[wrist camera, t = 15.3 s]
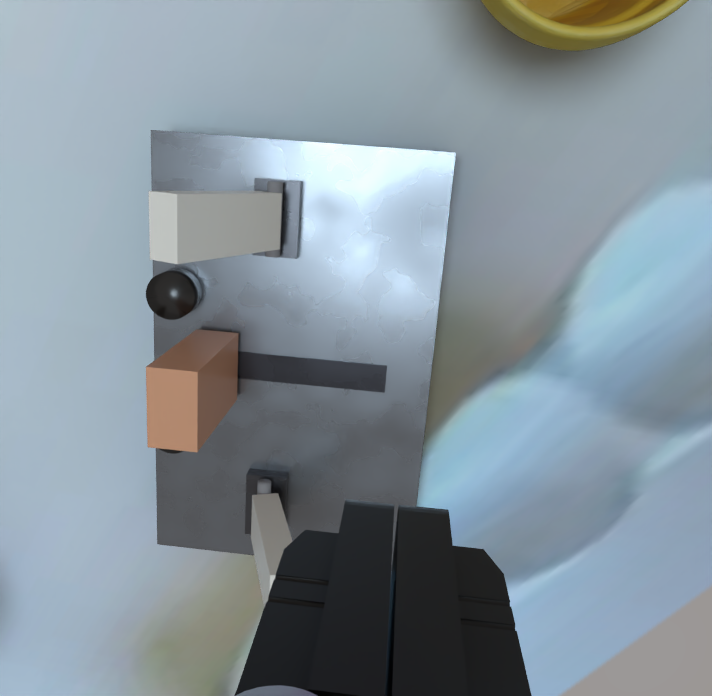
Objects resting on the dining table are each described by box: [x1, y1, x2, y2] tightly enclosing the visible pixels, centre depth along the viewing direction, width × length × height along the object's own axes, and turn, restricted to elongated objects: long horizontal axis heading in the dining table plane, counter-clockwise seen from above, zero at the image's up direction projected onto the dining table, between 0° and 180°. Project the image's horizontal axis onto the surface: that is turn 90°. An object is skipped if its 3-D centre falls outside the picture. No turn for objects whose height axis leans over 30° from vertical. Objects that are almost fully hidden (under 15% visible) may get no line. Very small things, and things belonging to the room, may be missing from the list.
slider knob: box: [146, 329, 238, 452], centre depth 33 cm, size 2×4×7 cm, turn 176°
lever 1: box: [149, 181, 283, 264], centre depth 29 cm, size 2×4×8 cm, turn 175°
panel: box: [146, 130, 456, 570], centre depth 37 cm, size 16×25×4 cm, turn 176°
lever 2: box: [251, 479, 292, 608], centre depth 34 cm, size 2×4×8 cm, turn 176°
